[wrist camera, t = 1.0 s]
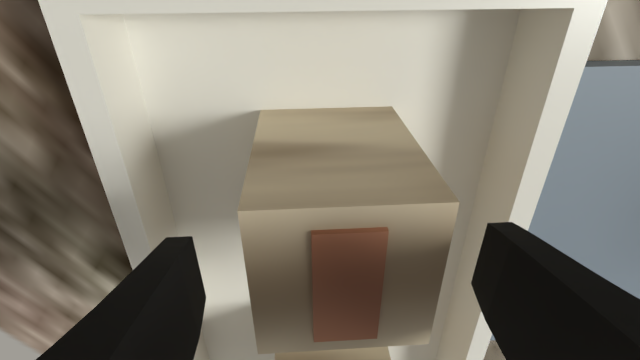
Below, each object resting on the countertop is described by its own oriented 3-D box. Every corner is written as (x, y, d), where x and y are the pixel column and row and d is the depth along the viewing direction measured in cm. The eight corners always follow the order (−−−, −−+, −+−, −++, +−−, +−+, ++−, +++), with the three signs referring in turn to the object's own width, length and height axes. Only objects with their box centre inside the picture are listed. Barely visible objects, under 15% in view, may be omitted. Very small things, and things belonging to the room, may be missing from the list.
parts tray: (437, 382, 22) (456, 436, 20) (209, 396, 22) (197, 455, 19) (544, -30, 11) (617, -29, 9) (92, -27, 11) (29, -25, 8)
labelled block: (381, 213, 15) (430, 349, 10) (270, 218, 15) (257, 359, 9) (391, 106, 13) (462, 206, 7) (260, 110, 12) (236, 215, 7)
